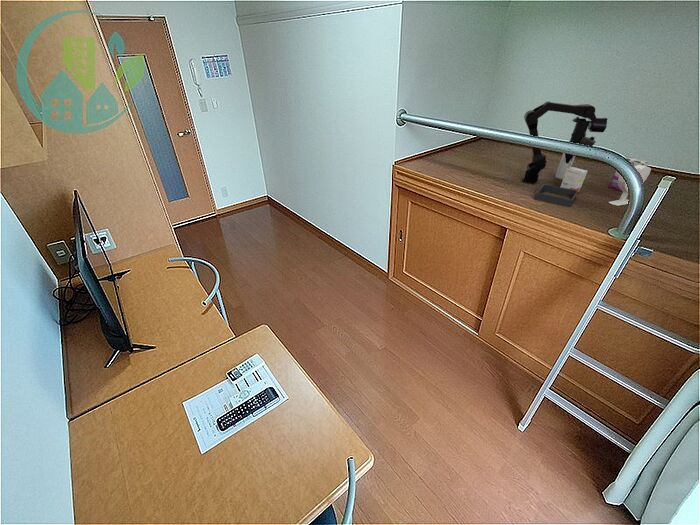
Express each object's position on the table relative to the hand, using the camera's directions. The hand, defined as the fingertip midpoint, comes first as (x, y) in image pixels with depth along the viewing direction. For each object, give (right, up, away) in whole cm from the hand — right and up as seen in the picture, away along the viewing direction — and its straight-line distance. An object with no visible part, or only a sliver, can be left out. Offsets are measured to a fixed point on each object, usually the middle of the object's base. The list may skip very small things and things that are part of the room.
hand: (568, 161), depth 176 cm
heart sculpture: (+16, -25, -15) cm, 34 cm away
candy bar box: (+28, -16, -1) cm, 33 cm away
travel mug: (+5, -6, +15) cm, 17 cm away
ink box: (0, -16, -1) cm, 16 cm away
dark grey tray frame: (-14, -22, -10) cm, 28 cm away
